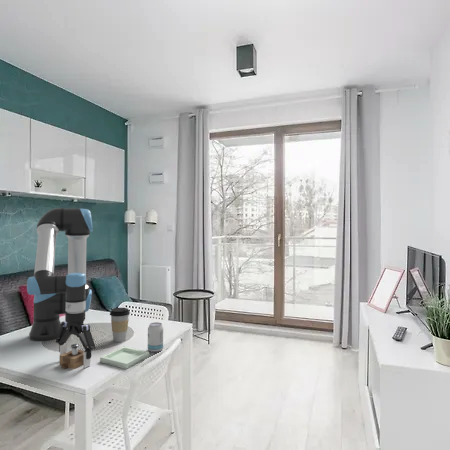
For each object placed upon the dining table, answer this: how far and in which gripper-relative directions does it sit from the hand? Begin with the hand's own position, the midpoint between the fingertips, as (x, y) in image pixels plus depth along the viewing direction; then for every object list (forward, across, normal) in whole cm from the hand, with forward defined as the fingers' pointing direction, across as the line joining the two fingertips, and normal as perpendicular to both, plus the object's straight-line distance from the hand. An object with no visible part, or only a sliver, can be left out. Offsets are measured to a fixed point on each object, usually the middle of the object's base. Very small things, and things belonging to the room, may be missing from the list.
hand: (74, 363), depth 140 cm
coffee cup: (0, -4, +30) cm, 30 cm away
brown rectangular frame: (0, 0, 0) cm, 0 cm away
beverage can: (0, +20, +27) cm, 34 cm away
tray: (0, +15, +13) cm, 20 cm away
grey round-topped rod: (0, 0, 0) cm, 0 cm away
